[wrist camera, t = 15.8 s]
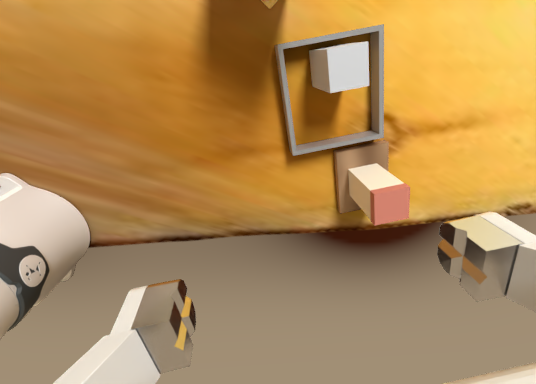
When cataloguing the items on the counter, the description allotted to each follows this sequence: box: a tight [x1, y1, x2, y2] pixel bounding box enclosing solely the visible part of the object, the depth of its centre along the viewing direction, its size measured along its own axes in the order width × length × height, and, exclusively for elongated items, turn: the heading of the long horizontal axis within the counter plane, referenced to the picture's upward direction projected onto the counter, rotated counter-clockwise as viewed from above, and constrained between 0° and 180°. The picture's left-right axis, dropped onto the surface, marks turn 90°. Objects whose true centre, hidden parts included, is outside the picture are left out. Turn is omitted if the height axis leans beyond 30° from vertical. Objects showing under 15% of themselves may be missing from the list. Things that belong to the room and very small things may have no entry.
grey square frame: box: [275, 24, 384, 156], centre depth 39 cm, size 13×14×2 cm
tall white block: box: [309, 41, 369, 93], centre depth 35 cm, size 4×4×8 cm
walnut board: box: [334, 140, 388, 214], centre depth 46 cm, size 8×10×1 cm
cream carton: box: [348, 163, 410, 225], centre depth 41 cm, size 5×5×9 cm
